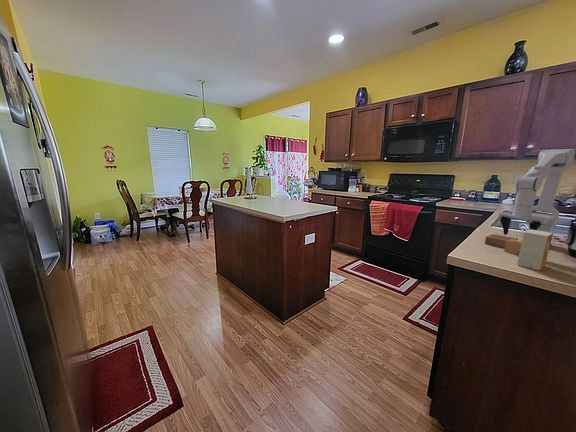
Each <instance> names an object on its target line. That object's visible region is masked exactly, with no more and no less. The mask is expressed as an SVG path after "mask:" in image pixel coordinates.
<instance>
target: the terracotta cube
mask: <svg viewBox="0 0 576 432" xmlns="http://www.w3.org/2000/svg"><path fill="white" fill-rule="evenodd" d="M521 244H522V240H519V239H518V240H513V239H510V240H507V241H506V244H505V248H503V252H505V253H508V254H514V255H516V256H519V254H520V249H521Z"/></svg>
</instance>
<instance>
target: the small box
mask: <svg viewBox="0 0 576 432" xmlns="http://www.w3.org/2000/svg"><path fill="white" fill-rule="evenodd" d="M553 236H554V233H553V232H551V233H550V232H544V231H538V230H532V229H530V230H528V229H527V230H526V231H524V232H523V236H522V240H521V241H522V244H521V249H520V254H519V255H518V259H517V263H516V265H517V266H520V267H523V268H528V269H531V270H536V271H541V270H542V269H543V268H544V267H545V266H546V264H547V263H546V262H547V260H548V254H549V251H550V247H551V245H552V239H553ZM550 244H551V245H550Z"/></svg>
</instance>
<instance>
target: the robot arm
mask: <svg viewBox="0 0 576 432" xmlns="http://www.w3.org/2000/svg"><path fill="white" fill-rule="evenodd" d="M575 153H576V152H575V149H574V148H564V149H563V148H561V149H560V148H559V149H542V150H540V152H539V154H538V156H537V162H538V164H537V165H534V166H532V167H531V168H529V170H528V171H527V172H526V173H525V174H524V175H522V176H519V177H518V178H517V179H516V182H515V201H514V204H513V209H512V210H513V211H512V213H508V212H498V218H499V221H500V223H501V226H502V229H503V230H502V231H503V236H506V235H508V234H509V230H510V229H509V228H510V224H511V221H512V220H518V221H523V222H525V223H526V224H527V226H528V228H527V231H528V230H530V229H532V230H538V231H544V232H550V233H552V228H555V227H556V226H557V225H558V223H559V219H560V211H559V210H558V209H556V207H554V206H553V205H554V202H555V199H556V196H557V192H558V189H559V186H560V183H561V179H562V176H563V174H564V172H565V171H566V170H570V169H571V167H572V165H573V163H574V162H573V161H574V159H575V155H576V154H575ZM543 180H544V182H543ZM541 186H542V189H541ZM540 189H541V192H540V195H539V199H538V203H537V204H536V205H535V200H536V196H537V192H538V191H539V190H540ZM551 245H552V243H551V244H550V246H551Z"/></svg>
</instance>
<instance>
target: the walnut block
mask: <svg viewBox="0 0 576 432" xmlns="http://www.w3.org/2000/svg"><path fill="white" fill-rule="evenodd" d="M510 239H513V240H518V241H519V238H516V237H511V236H506V235H501V234H496V233H493V234H489V235H486V236H485V241H484V245H488V246H493V247H495V248H501V249H505V244H506V241H507V240H510Z"/></svg>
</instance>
